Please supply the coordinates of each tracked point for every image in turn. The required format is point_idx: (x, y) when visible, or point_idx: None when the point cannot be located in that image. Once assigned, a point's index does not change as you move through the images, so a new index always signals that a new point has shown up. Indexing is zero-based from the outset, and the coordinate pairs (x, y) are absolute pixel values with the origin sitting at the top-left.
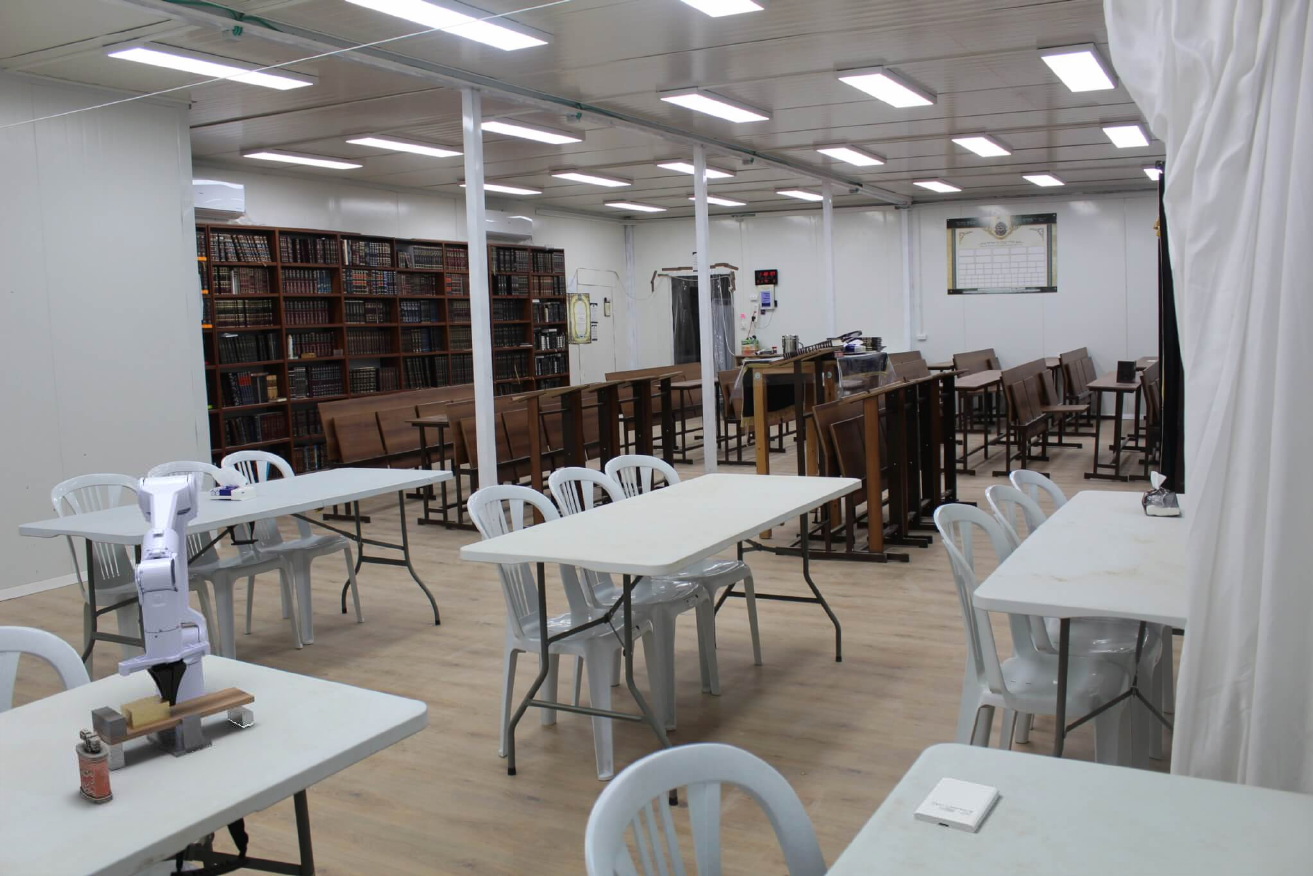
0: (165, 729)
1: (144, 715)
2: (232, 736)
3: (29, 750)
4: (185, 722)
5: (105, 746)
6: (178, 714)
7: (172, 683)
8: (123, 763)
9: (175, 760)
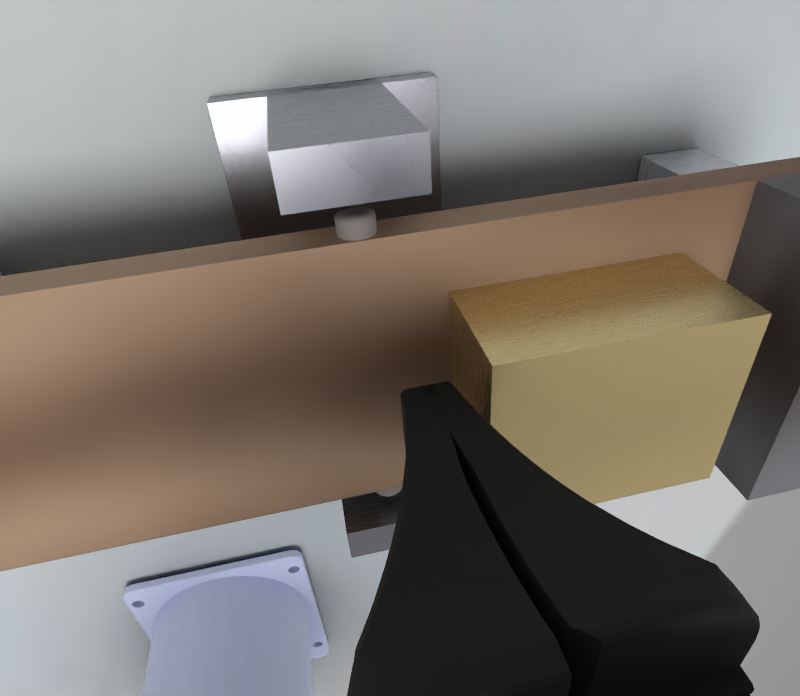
0: None
1: (651, 301)
2: (65, 165)
3: (704, 510)
4: (399, 125)
5: None
6: (384, 329)
7: (479, 512)
8: (654, 160)
9: (449, 21)
